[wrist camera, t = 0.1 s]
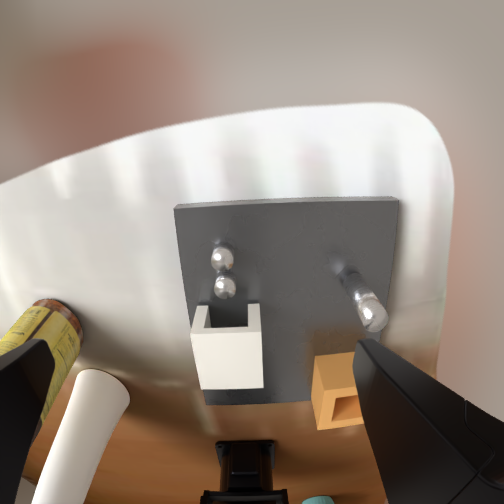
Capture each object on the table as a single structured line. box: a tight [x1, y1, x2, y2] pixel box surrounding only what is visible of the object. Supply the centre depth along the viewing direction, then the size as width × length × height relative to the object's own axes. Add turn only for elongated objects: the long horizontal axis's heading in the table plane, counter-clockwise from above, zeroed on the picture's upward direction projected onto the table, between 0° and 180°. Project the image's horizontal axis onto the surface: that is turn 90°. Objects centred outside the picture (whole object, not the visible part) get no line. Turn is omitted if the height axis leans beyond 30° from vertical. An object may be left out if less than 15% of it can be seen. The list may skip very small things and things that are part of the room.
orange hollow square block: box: [311, 352, 364, 430], centre depth 24 cm, size 5×5×4 cm
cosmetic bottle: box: [32, 369, 130, 504], centre depth 18 cm, size 6×6×22 cm
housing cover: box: [190, 303, 263, 389], centre depth 22 cm, size 5×4×3 cm
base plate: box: [174, 197, 399, 405], centre depth 22 cm, size 18×15×6 cm
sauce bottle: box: [0, 299, 83, 447], centre depth 16 cm, size 7×6×20 cm
